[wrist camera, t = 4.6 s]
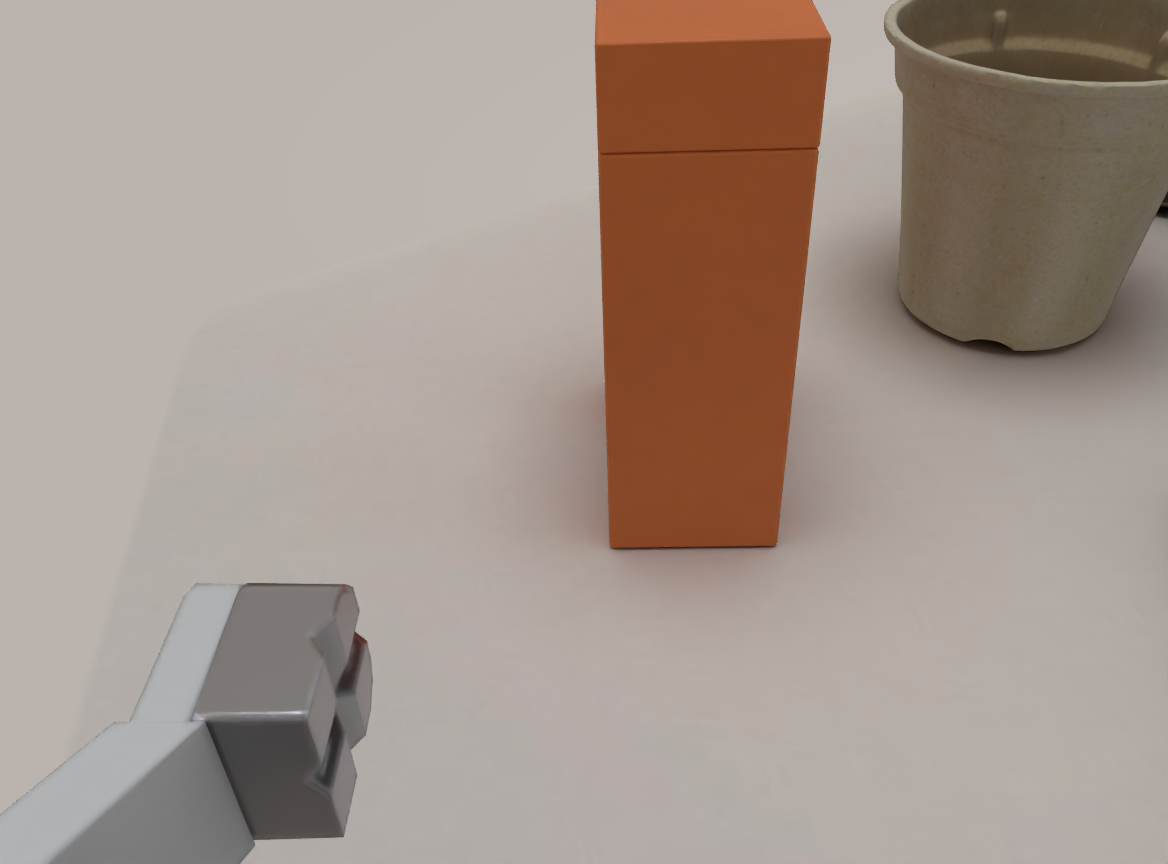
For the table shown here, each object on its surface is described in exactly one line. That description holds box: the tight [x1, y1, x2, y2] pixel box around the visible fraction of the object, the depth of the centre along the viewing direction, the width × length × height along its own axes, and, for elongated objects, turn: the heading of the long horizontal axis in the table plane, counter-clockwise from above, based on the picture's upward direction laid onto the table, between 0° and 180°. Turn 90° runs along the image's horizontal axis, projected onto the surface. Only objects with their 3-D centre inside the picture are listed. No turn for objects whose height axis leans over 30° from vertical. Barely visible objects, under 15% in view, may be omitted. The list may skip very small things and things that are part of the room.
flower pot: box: [884, 0, 1168, 351], centre depth 31 cm, size 9×9×9 cm
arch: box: [595, 0, 831, 548], centre depth 24 cm, size 7×4×12 cm, turn 179°
